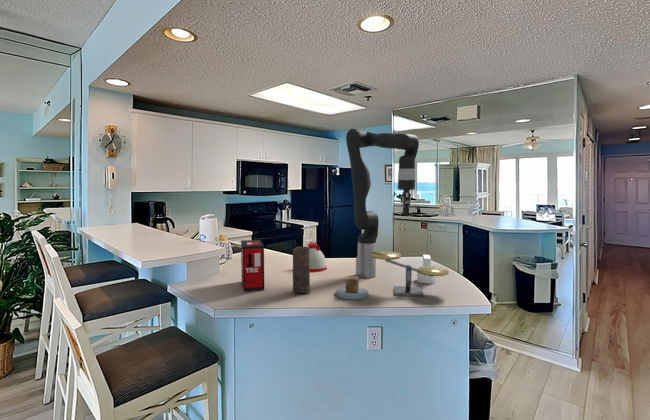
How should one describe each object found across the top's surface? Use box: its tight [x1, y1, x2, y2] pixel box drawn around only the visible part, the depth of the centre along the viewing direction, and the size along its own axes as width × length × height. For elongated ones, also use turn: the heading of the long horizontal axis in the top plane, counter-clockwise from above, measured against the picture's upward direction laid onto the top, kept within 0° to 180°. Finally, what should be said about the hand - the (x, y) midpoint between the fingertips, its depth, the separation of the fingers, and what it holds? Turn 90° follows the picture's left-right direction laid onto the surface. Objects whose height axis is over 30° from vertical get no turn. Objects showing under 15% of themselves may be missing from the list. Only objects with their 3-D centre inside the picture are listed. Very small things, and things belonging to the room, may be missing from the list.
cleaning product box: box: [240, 239, 265, 293], centre depth 161 cm, size 16×9×20 cm, turn 17°
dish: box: [335, 286, 369, 301], centre depth 150 cm, size 14×14×1 cm
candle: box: [292, 246, 311, 294], centre depth 152 cm, size 8×7×20 cm
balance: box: [371, 250, 450, 298], centre depth 152 cm, size 33×13×16 cm, turn 80°
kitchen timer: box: [307, 241, 328, 273], centre depth 193 cm, size 14×14×15 cm
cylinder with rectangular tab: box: [416, 254, 437, 284], centre depth 170 cm, size 9×9×12 cm
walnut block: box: [345, 275, 360, 294], centre depth 150 cm, size 5×5×6 cm
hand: (405, 215), depth 159 cm, fingers open, 8 cm apart
